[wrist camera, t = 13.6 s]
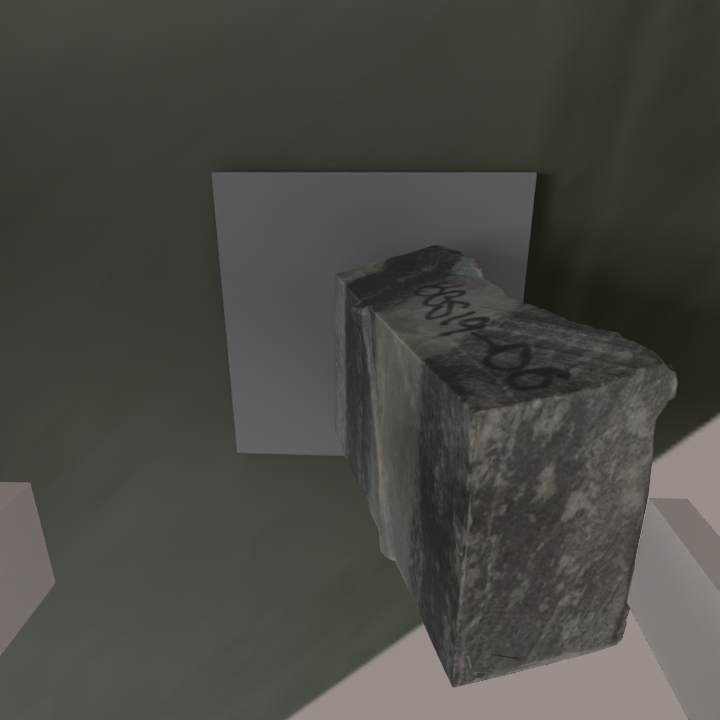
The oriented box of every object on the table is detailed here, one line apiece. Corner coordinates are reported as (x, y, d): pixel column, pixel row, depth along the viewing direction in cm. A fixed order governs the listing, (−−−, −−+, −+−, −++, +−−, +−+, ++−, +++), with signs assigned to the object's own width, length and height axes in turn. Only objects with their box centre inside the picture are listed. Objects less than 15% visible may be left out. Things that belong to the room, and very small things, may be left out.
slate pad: (241, 445, 30) (237, 452, 29) (216, 171, 25) (211, 172, 24) (503, 452, 29) (506, 460, 29) (532, 171, 24) (536, 172, 24)
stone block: (434, 238, 25) (319, 242, 23) (705, 334, 12) (487, 356, 11) (424, 418, 28) (322, 431, 27) (630, 648, 15) (454, 697, 14)
